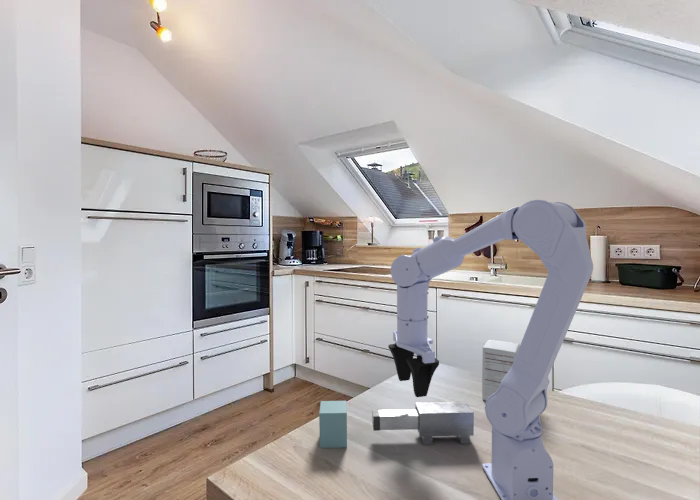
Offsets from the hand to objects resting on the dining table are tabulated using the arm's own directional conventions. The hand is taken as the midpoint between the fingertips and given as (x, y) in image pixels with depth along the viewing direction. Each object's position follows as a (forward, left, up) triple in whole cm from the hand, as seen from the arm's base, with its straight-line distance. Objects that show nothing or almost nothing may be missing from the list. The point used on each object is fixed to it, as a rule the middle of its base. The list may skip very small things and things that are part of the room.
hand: (412, 387), depth 74 cm
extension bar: (-1, -1, -7) cm, 7 cm away
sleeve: (-1, -6, -9) cm, 11 cm away
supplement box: (+16, -24, -10) cm, 30 cm away
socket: (-1, +15, -9) cm, 18 cm away
